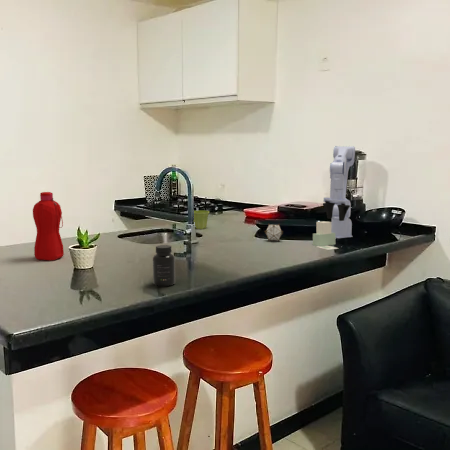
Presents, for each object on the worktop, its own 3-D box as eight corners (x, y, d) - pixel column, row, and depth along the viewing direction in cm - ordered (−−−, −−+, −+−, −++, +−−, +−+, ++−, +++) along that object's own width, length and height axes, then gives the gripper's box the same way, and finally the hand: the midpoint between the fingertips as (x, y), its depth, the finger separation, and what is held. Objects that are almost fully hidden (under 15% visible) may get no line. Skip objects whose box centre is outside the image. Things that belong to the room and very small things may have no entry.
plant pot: (209, 229, 259) (209, 212, 258) (190, 229, 260) (190, 212, 258) (209, 226, 269) (209, 210, 267) (192, 226, 269) (192, 210, 267)
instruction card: (325, 245, 222) (325, 244, 222) (338, 248, 215) (338, 248, 215) (315, 246, 219) (315, 246, 219) (328, 250, 212) (328, 249, 212)
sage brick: (328, 243, 227) (328, 232, 226) (335, 244, 223) (335, 232, 223) (312, 245, 222) (312, 233, 222) (319, 246, 218) (319, 234, 218)
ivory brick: (324, 232, 225) (324, 221, 224) (331, 233, 221) (331, 222, 220) (316, 233, 222) (316, 222, 222) (323, 234, 219) (323, 222, 218)
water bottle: (56, 262, 186) (53, 193, 182) (31, 260, 189) (27, 192, 185) (71, 257, 195) (68, 191, 191) (46, 255, 198) (43, 190, 194)
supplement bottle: (153, 281, 162) (153, 244, 160) (175, 281, 162) (175, 243, 160) (152, 287, 155) (151, 248, 153) (175, 286, 155) (174, 248, 154)
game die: (276, 248, 233) (287, 230, 234) (276, 245, 224) (288, 226, 226) (259, 238, 234) (271, 220, 236) (259, 234, 226) (271, 216, 227)
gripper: (318, 188, 229) (317, 218, 231) (341, 190, 217) (340, 222, 219) (330, 187, 233) (329, 217, 235) (353, 190, 220) (352, 221, 222)
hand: (335, 219), depth 227 cm, fingers open, 7 cm apart
